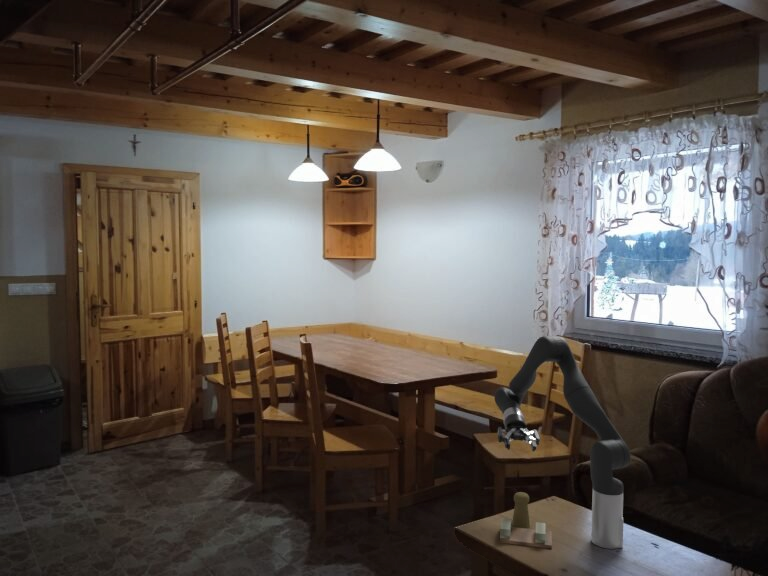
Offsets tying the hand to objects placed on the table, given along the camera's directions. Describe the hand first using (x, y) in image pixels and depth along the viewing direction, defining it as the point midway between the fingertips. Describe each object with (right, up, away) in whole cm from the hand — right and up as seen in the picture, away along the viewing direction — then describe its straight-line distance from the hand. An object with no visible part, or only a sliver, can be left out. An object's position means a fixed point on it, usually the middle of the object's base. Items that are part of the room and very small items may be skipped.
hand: (521, 448), depth 212 cm
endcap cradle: (-2, -26, -11) cm, 29 cm away
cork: (-1, -26, -1) cm, 26 cm away
